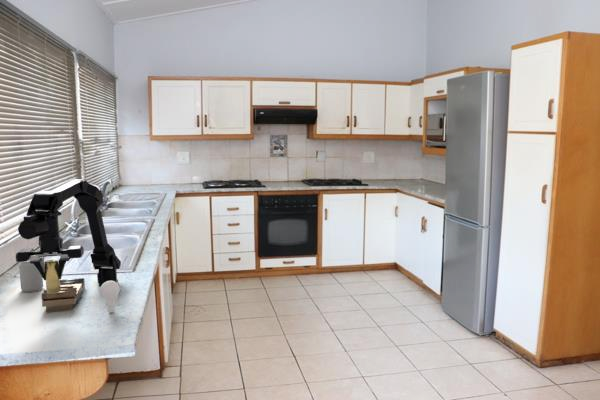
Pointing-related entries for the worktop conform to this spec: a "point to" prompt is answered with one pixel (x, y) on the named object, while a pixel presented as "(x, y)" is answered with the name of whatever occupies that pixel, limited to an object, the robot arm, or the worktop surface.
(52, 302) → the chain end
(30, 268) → the can
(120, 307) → the worktop surface
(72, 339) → the worktop surface
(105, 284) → the lightbulb
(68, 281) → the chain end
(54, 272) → the brass pin
